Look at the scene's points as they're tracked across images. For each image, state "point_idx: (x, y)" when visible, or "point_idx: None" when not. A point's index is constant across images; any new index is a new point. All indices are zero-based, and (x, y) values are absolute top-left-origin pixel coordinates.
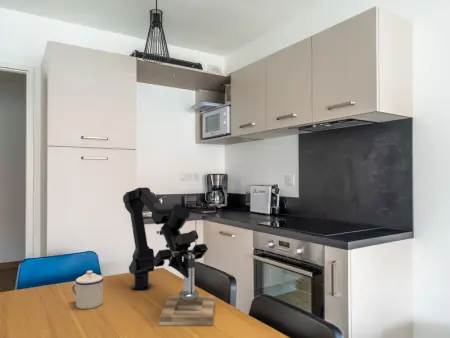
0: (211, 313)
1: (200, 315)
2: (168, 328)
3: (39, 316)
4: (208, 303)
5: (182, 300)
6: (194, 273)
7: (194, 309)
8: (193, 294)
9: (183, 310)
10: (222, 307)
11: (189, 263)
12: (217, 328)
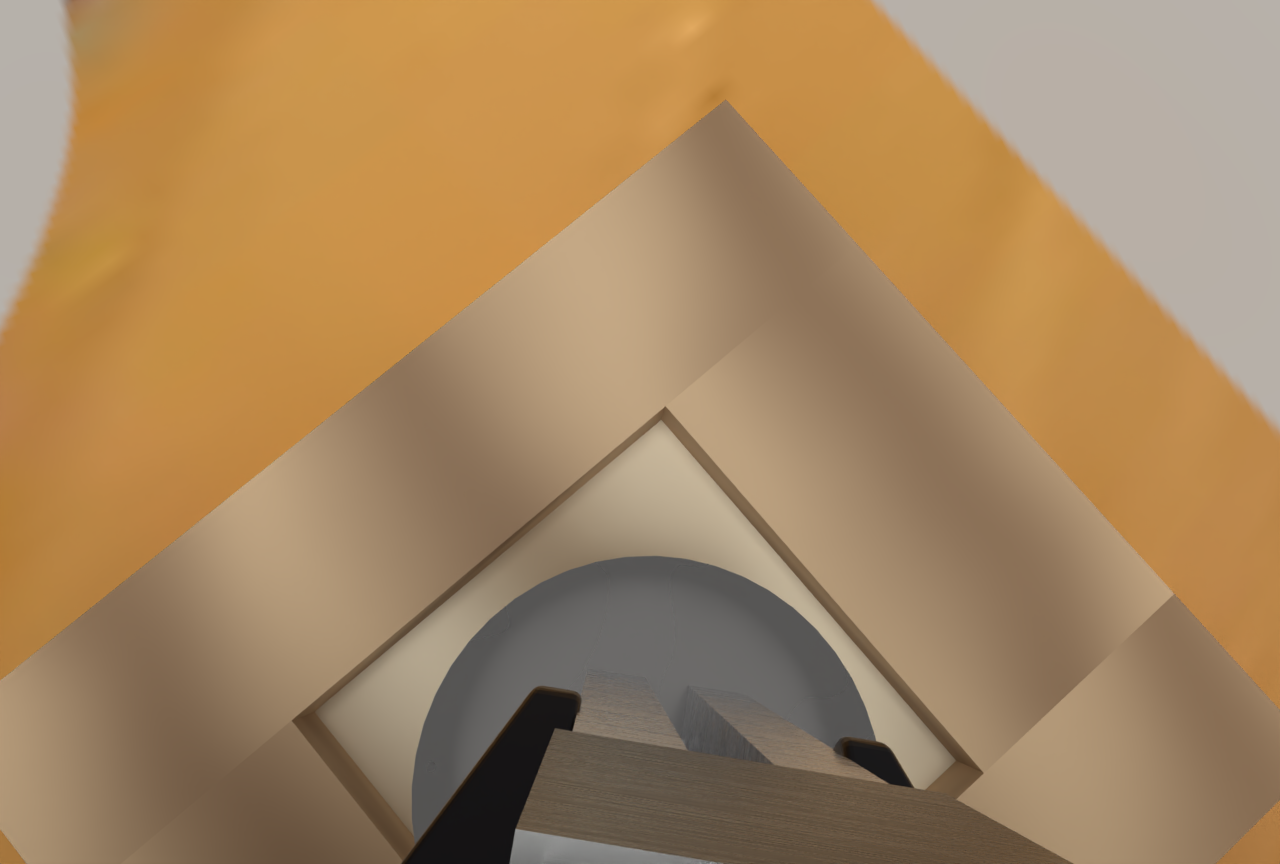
0: (630, 202)
1: (806, 281)
2: (1195, 555)
3: None
4: (326, 543)
5: None
6: (565, 718)
7: None
8: (646, 634)
9: None
10: (85, 480)
11: (987, 836)
12: (729, 48)
